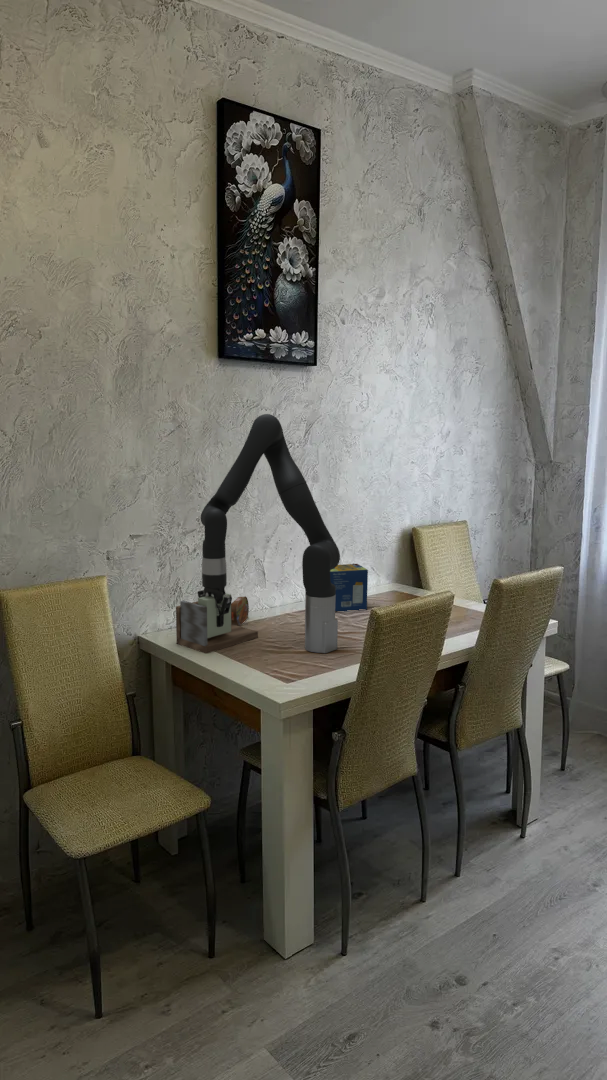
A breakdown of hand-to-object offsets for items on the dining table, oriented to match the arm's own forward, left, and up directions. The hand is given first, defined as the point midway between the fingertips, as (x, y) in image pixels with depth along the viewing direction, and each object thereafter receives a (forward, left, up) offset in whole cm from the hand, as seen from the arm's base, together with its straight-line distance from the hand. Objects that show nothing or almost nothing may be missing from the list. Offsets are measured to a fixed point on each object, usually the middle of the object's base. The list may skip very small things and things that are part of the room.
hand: (214, 624), depth 234 cm
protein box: (-2, -62, -7) cm, 62 cm away
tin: (+12, -22, -7) cm, 26 cm away
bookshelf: (+2, -3, -6) cm, 7 cm away
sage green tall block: (0, 0, -3) cm, 3 cm away
